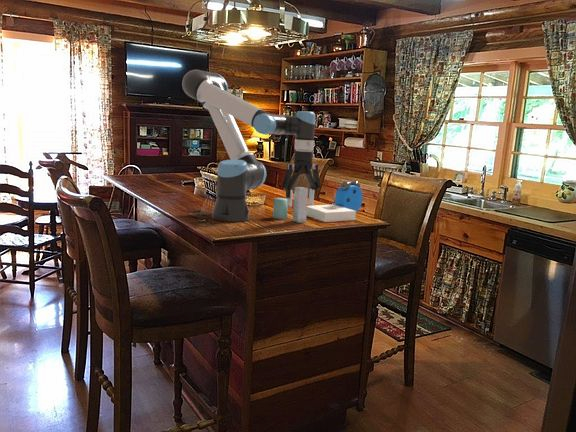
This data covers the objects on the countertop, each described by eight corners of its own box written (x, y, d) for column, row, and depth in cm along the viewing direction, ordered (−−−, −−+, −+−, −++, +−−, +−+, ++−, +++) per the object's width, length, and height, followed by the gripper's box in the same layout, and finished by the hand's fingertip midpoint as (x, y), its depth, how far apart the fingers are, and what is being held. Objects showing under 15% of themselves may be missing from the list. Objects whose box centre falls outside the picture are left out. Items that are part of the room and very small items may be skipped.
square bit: (297, 222, 201) (299, 188, 198) (292, 220, 204) (294, 187, 202) (305, 222, 203) (308, 188, 200) (300, 220, 206) (302, 187, 204)
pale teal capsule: (277, 219, 205) (278, 200, 204) (270, 216, 210) (271, 198, 209) (289, 218, 208) (290, 200, 207) (282, 216, 213) (283, 197, 212)
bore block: (324, 222, 205) (325, 212, 205) (304, 214, 219) (304, 205, 218) (355, 220, 213) (356, 210, 213) (333, 213, 227) (334, 204, 226)
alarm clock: (352, 211, 235) (354, 179, 232) (362, 213, 230) (365, 181, 228) (333, 213, 226) (335, 180, 224) (343, 215, 222) (345, 182, 219)
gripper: (284, 150, 189) (281, 208, 193) (331, 151, 201) (327, 206, 205) (274, 149, 195) (271, 204, 200) (321, 150, 207) (317, 203, 211)
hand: (300, 205), depth 202 cm, fingers open, 10 cm apart
